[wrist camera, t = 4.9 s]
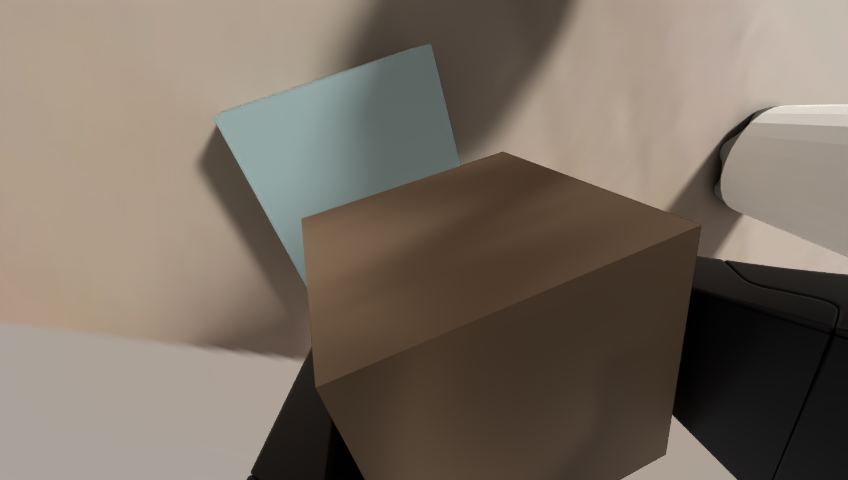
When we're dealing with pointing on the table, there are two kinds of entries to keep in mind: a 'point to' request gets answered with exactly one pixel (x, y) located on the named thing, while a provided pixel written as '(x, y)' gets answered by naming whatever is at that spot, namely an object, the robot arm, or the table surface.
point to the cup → (792, 172)
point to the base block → (341, 139)
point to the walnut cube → (499, 325)
